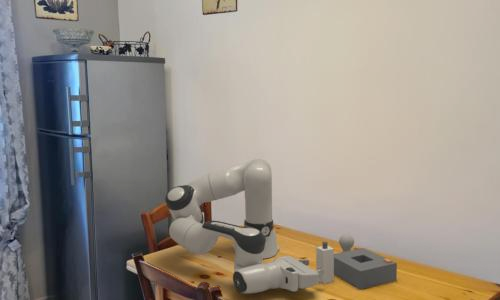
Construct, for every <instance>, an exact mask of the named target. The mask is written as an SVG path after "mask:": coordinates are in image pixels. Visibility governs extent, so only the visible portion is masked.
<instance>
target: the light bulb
mask: <svg viewBox="0 0 500 300" xmlns="http://www.w3.org/2000/svg"><path fill="white" fill-rule="evenodd" d="M338 243H339V246H340V248H341V250H342V252H346V251H351V250H352V248H353V246H354V245H355V238H354V237H353V236H352V235H351V234H348V233H344V234H341V236H340V237H339V239H338Z"/></svg>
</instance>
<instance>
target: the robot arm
mask: <svg viewBox="0 0 500 300" xmlns="http://www.w3.org/2000/svg"><path fill="white" fill-rule="evenodd" d="M272 174H273V173H272V168H271V166H270V164H269V163H268V162H267V161H266V160H264V159H261V158H256V159H255V158H254V159H252V160H248V161H245V162H243V163H241V164H237V165H235V166H232V167H229V168H226V169H223V170H220V171H216V172H213V173H212V172H211V173H210V174H206V175H205V174H204V175H202V176H200V177H198V178H195V179H193V180H191V181H190V182H189V183H187V184H185V185H177V186H175V187H172V188H171V189H169V190H168V192H167V193H166V194H165V196H164V197H165V198H164V199H165V204H166V207H167V209H168V210H169V213H170V214H171V217H172V218H173V219H174V220H173V221H172V222H171V224H170V226H169V230H168V232H169V233H168V234H169V236H170V238H171V239H172V240H173V241H174V242H175V243H176V244H177V245H179V246H180V247H182V248H184V249H186V250H187V251H188V252H190V253H192V254H195V255H205V254H207V253H208V252H210V251H211V250H212V249H213V248H214V247H215V245H217V242H218V239H219V238H220V237H221V238H223V239H228V240H232V241H233V242H234V243H232V244H231V248H232V249H233V250H234V260H233V261H234V263H233V271H234V272H233V274H232V282H233V285H234V287H235V289H236V290H237V291H238V292H239V293H240V294H256V293H257V294H258V293H261V292H266V291H267V290H270V289H272V290H274V289H279V288H280V289H285V290H288V291H291V292H297V291H298V290H299V289H307V288H311V287H315V286H317V285H319V284H320V282H319V276H320V275H323V274H324V269H322V268H318V270H317V271H316V269H312V268H311V267H310V266H309V265H310V260H308V259H307V258H305V259H300V258H299V259H298V258H297V259H296V258H294V257H293V256H291V255H283V256H279V257H277V258H274V260H273V261H272V260H271V261H268V262H267V263H264V262H263V261H264V260H263V259H268V258H272V257H275V256H276V255H277V253H278V252H279V251H280V247H279V246H278V241H277V233H276V232H277V231H276V230H274V226H275V225H274V224H275V223H274V219H273V188H272V187H273V185H272V184H273V181H272V180H273V179H272V177H273V175H272ZM241 192H244V201H245V202H244V205H245V206H244V207H245V219H244V221H243V226H242V225H241V226H240V225H237V224H233V223H228V222H225V221H224V222H223V221H219V220H208V221H205V220H204V219H205V218H204V215H203V212H202V210H201V208H200V206H201V205H203V204H204V203H209V202H210V203H211V202H214V201H218V200H220V199H224V198H225V199H226V198H229V197H232V196H235V195H237V194H239V193H241Z"/></svg>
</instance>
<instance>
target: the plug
mask: <svg viewBox="0 0 500 300" xmlns="http://www.w3.org/2000/svg"><path fill="white" fill-rule="evenodd" d="M321 243H322V245H321V246H320V245H319V246H316V248H315V249H316V251H315V252H316V253H315V255H316V256H315V257H316V260H315V261H316V262H315V263H316V265H315V266H316V268H315V270H316V271H317V270H318V268H322V269H324V274H323V275H320V276H319V283H321V284H323V285H324V284H328V283H333V282H335V281H334V280H335V275H334V254H335V251H334V250H335V249H334V248H333V247H331V246H329V244H328V242H327V241H322V242H321Z"/></svg>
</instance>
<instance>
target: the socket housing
mask: <svg viewBox="0 0 500 300" xmlns="http://www.w3.org/2000/svg"><path fill="white" fill-rule="evenodd" d="M397 267H398V263H397V261H396V262H395V261H393V260H391V259H389V258H386V257H385V256H382V255H379V254H378V253H376V252H373V251H372V250H370V249H367V248H365V247H362V248H357V249H356V248H355V249H351V251H346V252H343V251H342V252H341V251H340V252H338V253H334V276H336V277H338V278H339V279H341V280H343V281H345V282H346V283H348V284H349V285H351V286H353V287H355V288H356V289H357V290H365V289H369V288H373V287H376V286H380V285H385V284H389V283H392V282H397V278H398V277H397V275H398V274H397V273H398V270H397V269H398V268H397Z"/></svg>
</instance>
